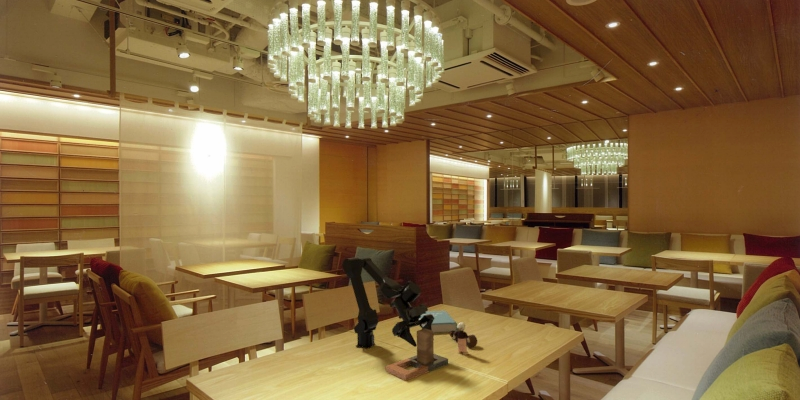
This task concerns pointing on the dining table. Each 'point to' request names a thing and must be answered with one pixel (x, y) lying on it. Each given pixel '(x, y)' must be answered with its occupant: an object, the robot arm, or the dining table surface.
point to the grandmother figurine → (461, 339)
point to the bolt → (471, 337)
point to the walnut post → (425, 346)
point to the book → (441, 322)
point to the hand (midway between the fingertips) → (424, 343)
